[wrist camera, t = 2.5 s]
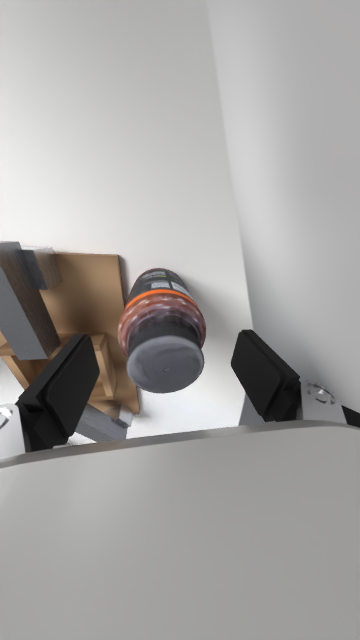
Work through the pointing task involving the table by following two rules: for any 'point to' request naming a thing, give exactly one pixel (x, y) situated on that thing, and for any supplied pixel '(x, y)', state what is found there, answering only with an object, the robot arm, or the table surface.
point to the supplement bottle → (162, 333)
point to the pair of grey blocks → (44, 326)
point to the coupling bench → (86, 326)
